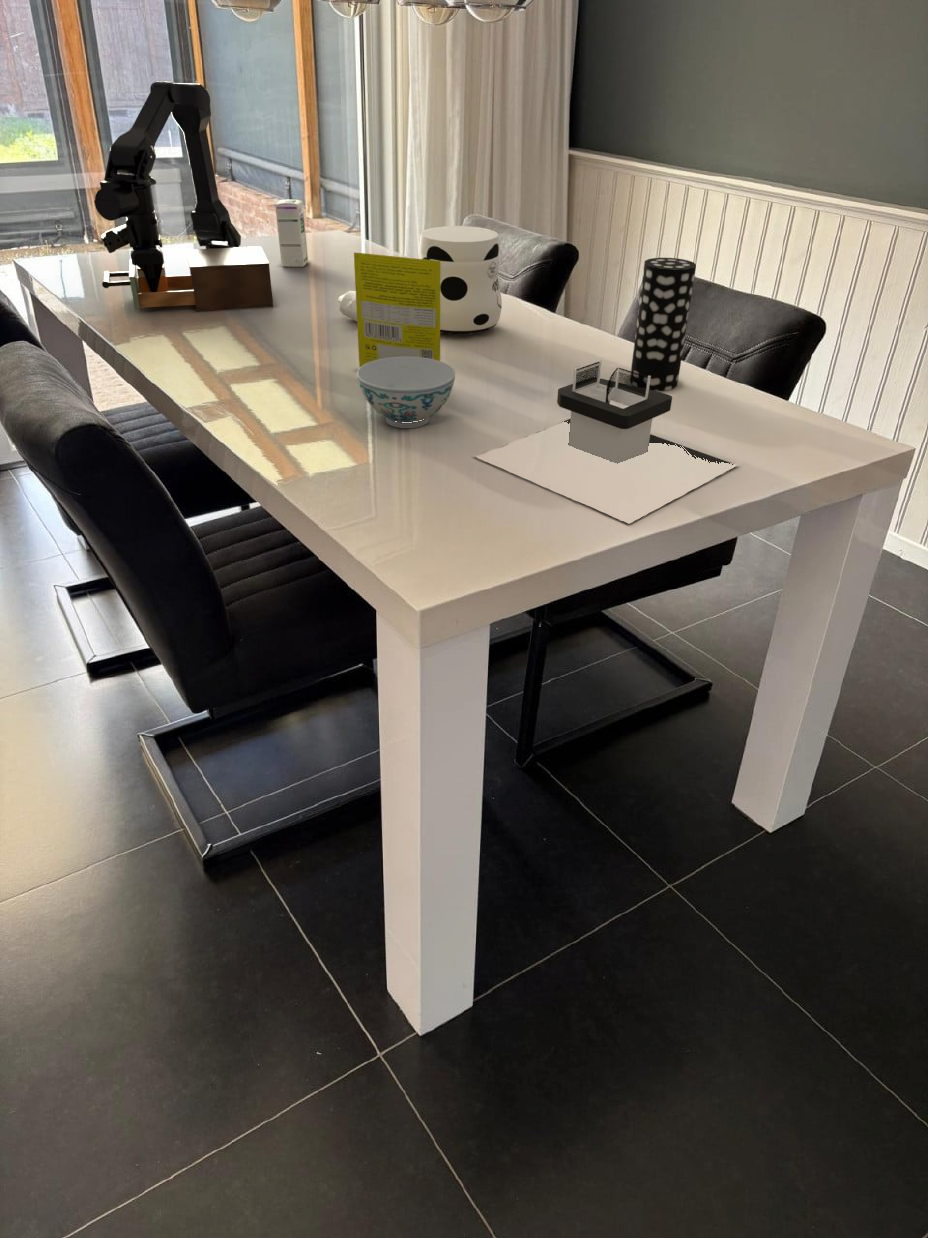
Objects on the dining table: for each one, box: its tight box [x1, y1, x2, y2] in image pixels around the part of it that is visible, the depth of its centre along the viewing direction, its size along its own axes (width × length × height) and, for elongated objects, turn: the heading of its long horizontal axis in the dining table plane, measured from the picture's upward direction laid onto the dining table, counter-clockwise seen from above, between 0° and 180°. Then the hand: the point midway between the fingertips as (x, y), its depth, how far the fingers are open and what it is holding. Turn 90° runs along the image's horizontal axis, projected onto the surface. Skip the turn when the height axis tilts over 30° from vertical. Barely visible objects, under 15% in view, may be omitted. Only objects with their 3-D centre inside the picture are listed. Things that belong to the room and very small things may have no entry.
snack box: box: [136, 263, 168, 293], centre depth 190 cm, size 6×3×6 cm, turn 107°
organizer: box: [186, 246, 274, 312], centre depth 194 cm, size 16×16×9 cm
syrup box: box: [274, 198, 309, 268], centre depth 220 cm, size 6×6×14 cm
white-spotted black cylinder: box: [630, 257, 697, 392], centre depth 152 cm, size 8×8×20 cm
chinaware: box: [356, 357, 456, 429], centre depth 139 cm, size 15×15×8 cm
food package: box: [353, 252, 441, 369], centre depth 152 cm, size 15×1×20 cm, turn 71°
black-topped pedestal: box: [556, 360, 734, 465], centre depth 125 cm, size 28×26×13 cm
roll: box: [337, 290, 357, 323], centre depth 184 cm, size 6×12×6 cm, turn 35°
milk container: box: [418, 225, 503, 335], centre depth 177 cm, size 17×17×18 cm
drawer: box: [101, 258, 196, 311], centre depth 191 cm, size 22×16×6 cm
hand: (154, 290), depth 191 cm, fingers closed on snack box, 3 cm apart
